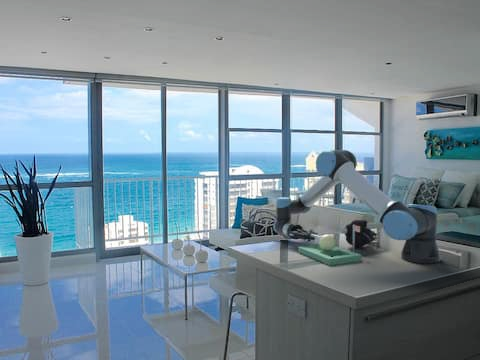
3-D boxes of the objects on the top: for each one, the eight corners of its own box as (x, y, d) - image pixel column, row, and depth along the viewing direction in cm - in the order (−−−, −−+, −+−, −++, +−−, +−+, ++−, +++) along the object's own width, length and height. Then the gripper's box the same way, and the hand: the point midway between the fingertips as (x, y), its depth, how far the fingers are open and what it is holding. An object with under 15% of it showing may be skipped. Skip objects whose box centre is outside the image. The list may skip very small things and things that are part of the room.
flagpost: (352, 256, 180) (352, 224, 179) (353, 256, 180) (353, 224, 180) (358, 259, 176) (359, 226, 175) (360, 258, 176) (360, 226, 176)
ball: (332, 236, 186) (340, 247, 181) (319, 245, 186) (326, 256, 181) (328, 228, 181) (336, 239, 176) (314, 237, 182) (322, 248, 176)
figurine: (389, 230, 206) (366, 218, 184) (384, 256, 205) (360, 247, 182) (363, 225, 215) (338, 213, 193) (358, 250, 213) (332, 241, 191)
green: (298, 252, 189) (298, 246, 189) (327, 248, 195) (327, 243, 195) (329, 265, 167) (329, 259, 166) (361, 261, 173) (361, 255, 173)
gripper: (304, 237, 210) (332, 246, 189) (281, 239, 205) (307, 249, 184) (304, 222, 210) (332, 230, 188) (281, 224, 205) (307, 232, 183)
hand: (320, 239), depth 186 cm, fingers closed
